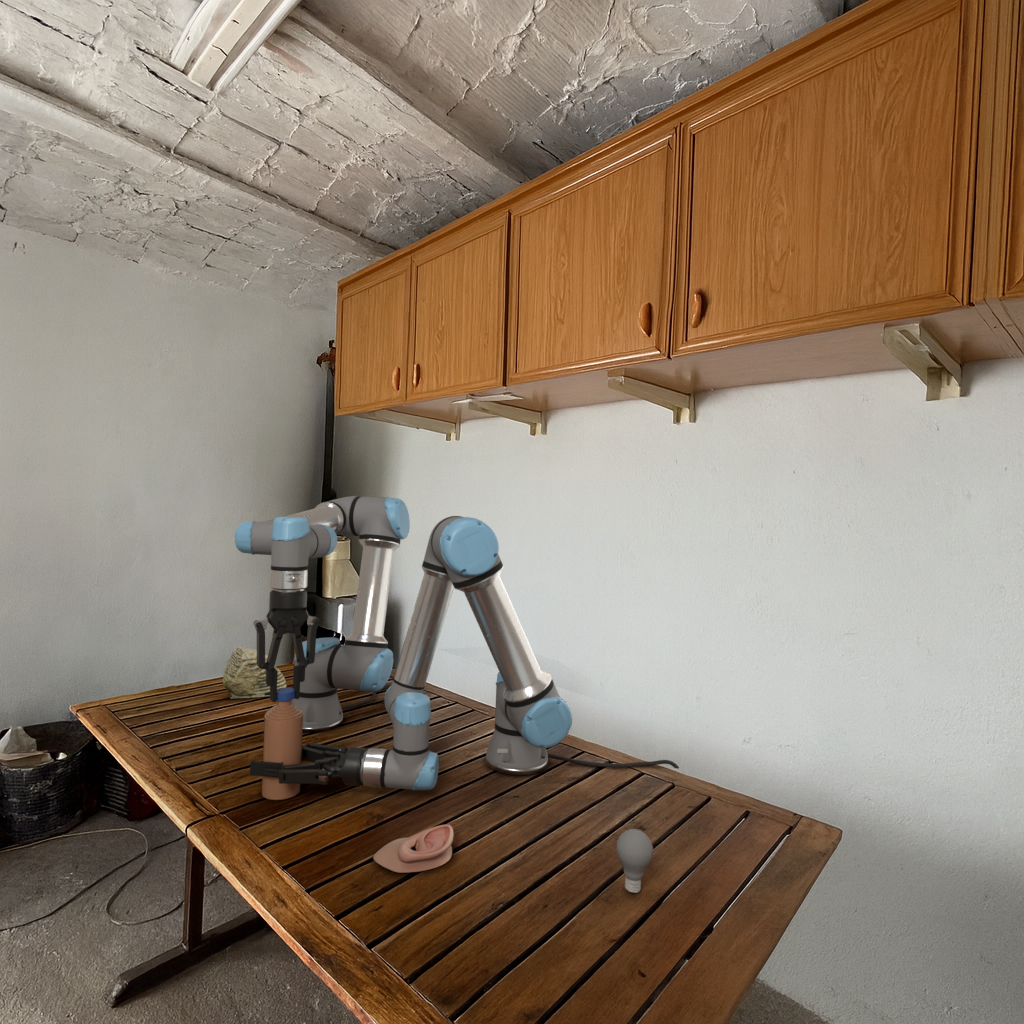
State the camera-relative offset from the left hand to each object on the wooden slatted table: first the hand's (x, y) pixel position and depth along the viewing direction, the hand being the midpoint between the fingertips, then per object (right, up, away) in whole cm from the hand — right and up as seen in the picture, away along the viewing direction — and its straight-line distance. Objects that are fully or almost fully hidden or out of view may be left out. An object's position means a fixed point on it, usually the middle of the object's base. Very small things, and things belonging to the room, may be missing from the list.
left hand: (284, 698), depth 135 cm
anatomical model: (+31, -22, -22) cm, 44 cm away
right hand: (-5, -13, +1) cm, 14 cm away
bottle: (-1, -20, 0) cm, 20 cm away
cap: (0, +1, 0) cm, 1 cm away
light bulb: (+69, -24, -29) cm, 78 cm away
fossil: (-32, -17, +63) cm, 73 cm away
